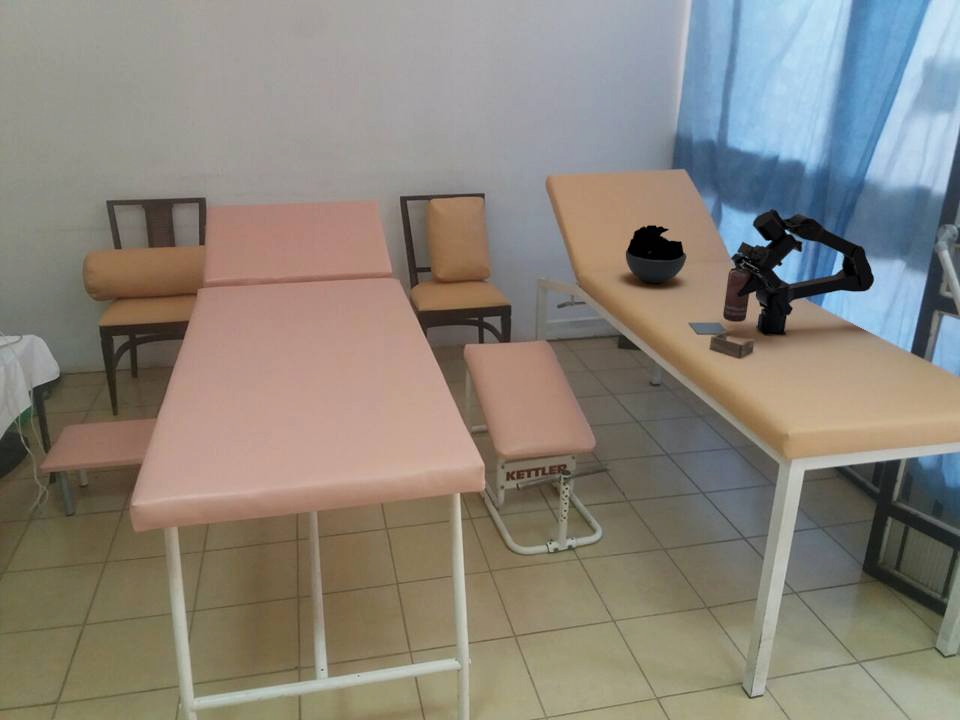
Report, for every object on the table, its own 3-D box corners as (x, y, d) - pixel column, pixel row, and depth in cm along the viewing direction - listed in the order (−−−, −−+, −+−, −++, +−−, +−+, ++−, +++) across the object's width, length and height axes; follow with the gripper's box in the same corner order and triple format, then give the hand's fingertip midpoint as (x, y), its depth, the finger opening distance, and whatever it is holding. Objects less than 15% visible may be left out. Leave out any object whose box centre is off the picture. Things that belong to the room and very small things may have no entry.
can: (717, 317, 219) (723, 269, 214) (733, 313, 222) (740, 266, 217) (733, 323, 214) (740, 274, 209) (750, 319, 217) (757, 271, 212)
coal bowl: (648, 270, 279) (653, 218, 271) (695, 283, 264) (702, 228, 257) (611, 280, 267) (615, 225, 260) (657, 294, 253) (663, 237, 245)
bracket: (723, 342, 213) (724, 330, 212) (752, 351, 208) (754, 339, 206) (709, 348, 209) (711, 336, 208) (739, 358, 203) (741, 345, 202)
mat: (718, 323, 228) (718, 322, 228) (729, 334, 219) (729, 333, 219) (688, 323, 227) (688, 322, 227) (697, 334, 219) (697, 333, 219)
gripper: (741, 224, 218) (700, 264, 220) (777, 240, 201) (732, 284, 203) (763, 250, 223) (722, 290, 225) (800, 268, 206) (756, 310, 208)
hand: (732, 292), depth 215 cm, fingers closed on can, 5 cm apart
